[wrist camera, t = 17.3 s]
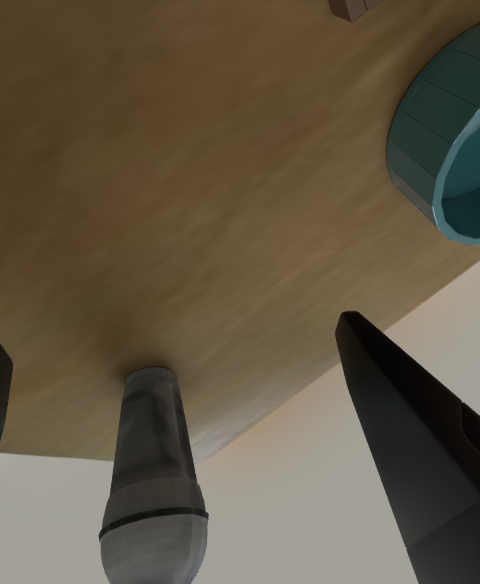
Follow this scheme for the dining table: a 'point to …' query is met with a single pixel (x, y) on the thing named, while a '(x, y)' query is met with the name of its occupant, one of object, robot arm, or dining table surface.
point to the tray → (352, 8)
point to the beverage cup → (153, 489)
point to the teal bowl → (442, 140)
